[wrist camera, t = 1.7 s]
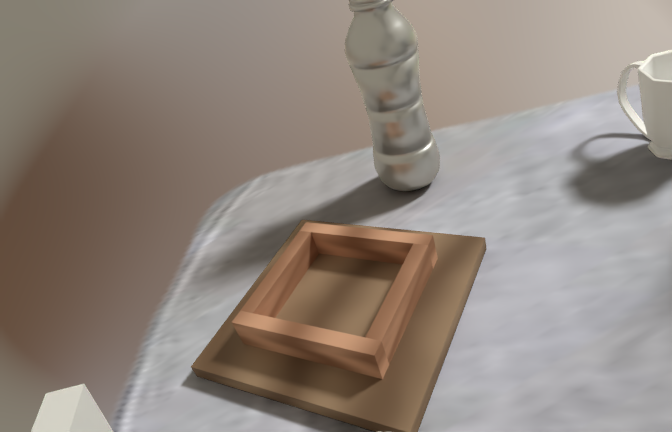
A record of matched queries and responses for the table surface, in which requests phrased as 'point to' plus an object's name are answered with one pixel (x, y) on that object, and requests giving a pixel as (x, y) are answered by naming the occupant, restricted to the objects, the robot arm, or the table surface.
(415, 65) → the plastic bottle
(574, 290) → the table surface
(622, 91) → the cup
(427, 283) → the collar board
